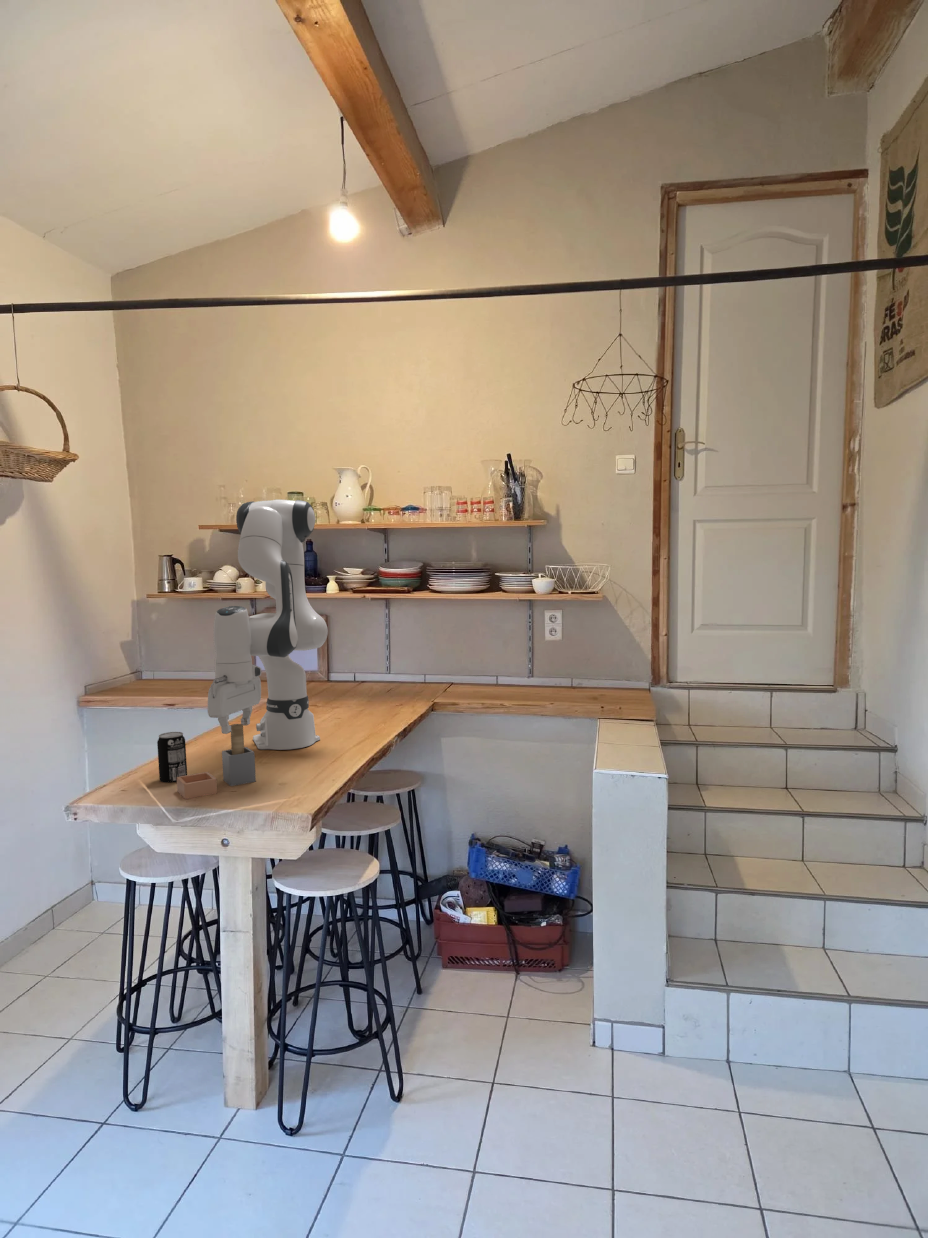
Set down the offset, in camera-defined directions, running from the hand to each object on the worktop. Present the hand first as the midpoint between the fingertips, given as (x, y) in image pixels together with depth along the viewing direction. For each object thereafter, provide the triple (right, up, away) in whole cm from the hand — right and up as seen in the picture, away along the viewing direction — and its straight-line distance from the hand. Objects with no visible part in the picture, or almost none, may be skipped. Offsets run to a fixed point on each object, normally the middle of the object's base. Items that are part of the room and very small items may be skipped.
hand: (236, 729), depth 194 cm
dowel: (0, -13, +2) cm, 13 cm away
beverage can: (-17, -14, +5) cm, 23 cm away
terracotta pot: (-7, -15, -7) cm, 18 cm away
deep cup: (0, -14, +2) cm, 14 cm away
